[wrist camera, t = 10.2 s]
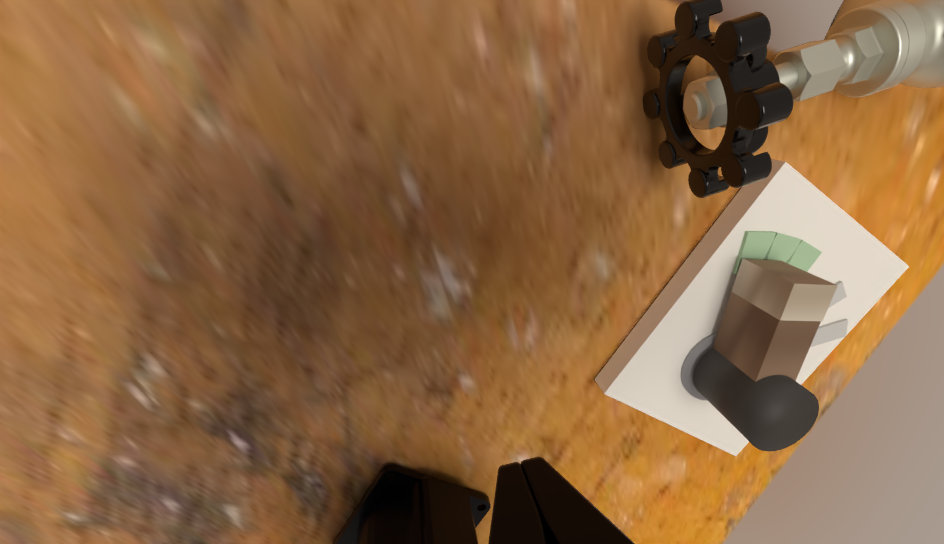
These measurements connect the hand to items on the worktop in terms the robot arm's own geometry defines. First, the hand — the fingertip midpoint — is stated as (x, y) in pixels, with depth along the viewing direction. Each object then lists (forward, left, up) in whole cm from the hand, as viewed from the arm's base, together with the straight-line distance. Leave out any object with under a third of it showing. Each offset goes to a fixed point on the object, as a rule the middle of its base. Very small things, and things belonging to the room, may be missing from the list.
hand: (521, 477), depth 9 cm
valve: (+14, -8, -12) cm, 20 cm away
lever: (+4, -14, -10) cm, 18 cm away
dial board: (+4, -15, -12) cm, 20 cm away
